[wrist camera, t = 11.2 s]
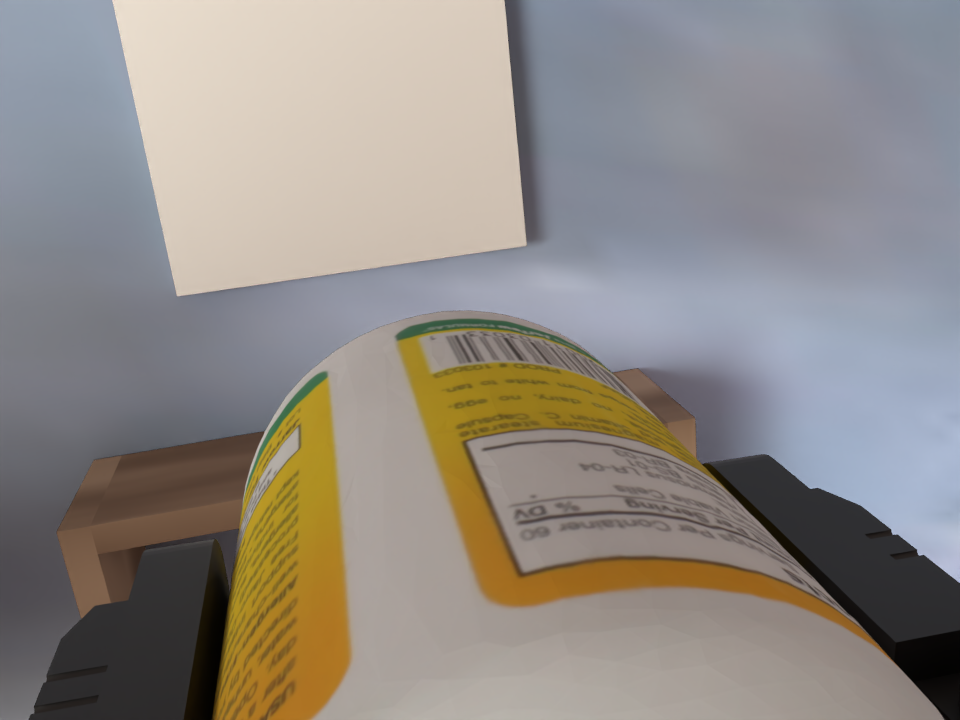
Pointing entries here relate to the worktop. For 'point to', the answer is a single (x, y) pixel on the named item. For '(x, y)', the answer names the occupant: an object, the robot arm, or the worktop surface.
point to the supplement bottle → (516, 554)
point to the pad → (323, 133)
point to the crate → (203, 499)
